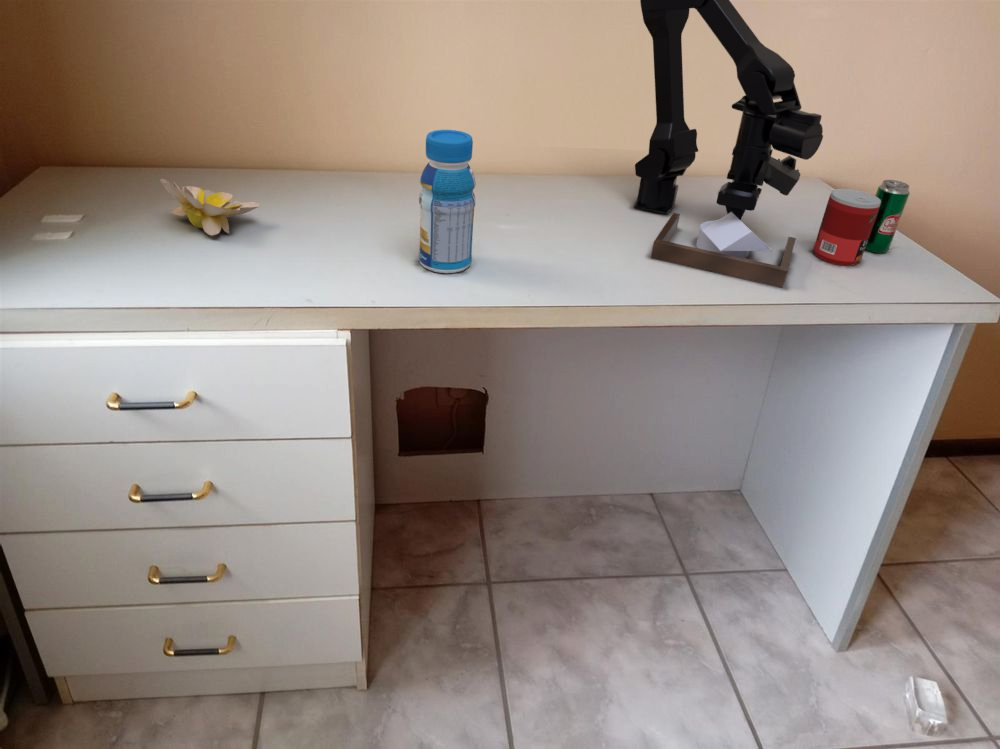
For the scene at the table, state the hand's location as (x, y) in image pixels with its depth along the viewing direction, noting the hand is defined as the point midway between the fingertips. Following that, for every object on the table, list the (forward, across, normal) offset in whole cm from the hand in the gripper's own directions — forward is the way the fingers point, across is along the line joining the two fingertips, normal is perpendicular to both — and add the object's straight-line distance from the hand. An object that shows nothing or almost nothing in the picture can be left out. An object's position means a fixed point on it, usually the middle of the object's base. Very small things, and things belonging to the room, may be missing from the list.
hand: (733, 228), depth 138 cm
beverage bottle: (0, -36, +39) cm, 53 cm away
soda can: (+2, +9, -24) cm, 26 cm away
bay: (+2, -8, 0) cm, 9 cm away
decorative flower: (0, -43, +78) cm, 89 cm away
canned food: (+2, +2, -18) cm, 18 cm away
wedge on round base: (+2, -7, 0) cm, 8 cm away
